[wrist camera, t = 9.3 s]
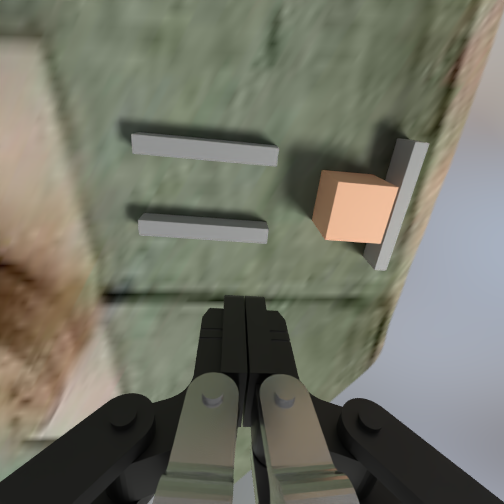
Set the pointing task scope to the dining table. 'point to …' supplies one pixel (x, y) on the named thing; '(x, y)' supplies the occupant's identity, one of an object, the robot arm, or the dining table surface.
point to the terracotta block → (353, 206)
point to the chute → (213, 152)
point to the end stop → (397, 197)
